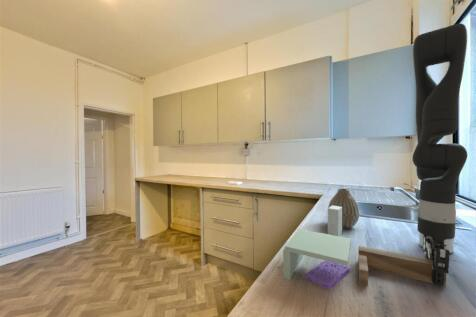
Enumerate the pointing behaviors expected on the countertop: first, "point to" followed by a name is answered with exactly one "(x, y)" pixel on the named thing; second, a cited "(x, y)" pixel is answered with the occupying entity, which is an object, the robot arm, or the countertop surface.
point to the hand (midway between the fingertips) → (433, 277)
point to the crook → (393, 265)
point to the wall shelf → (314, 249)
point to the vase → (346, 208)
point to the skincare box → (335, 220)
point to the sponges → (327, 273)
